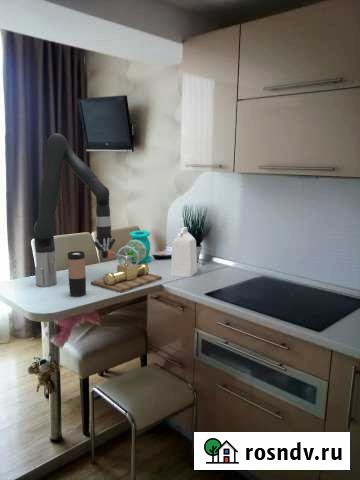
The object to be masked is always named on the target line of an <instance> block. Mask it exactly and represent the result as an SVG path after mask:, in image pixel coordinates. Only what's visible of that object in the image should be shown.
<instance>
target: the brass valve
mask: <svg viewBox="0 0 360 480" xmlns="http://www.w3.org/2000/svg"><path fill="white" fill-rule="evenodd" d="M135 264H136V263H135ZM135 264H134V263H132V264H130V263H129V261H128V259H127V260H126V259H125V260H124V263H122V264H118V265H116V269H117V272H107V273H105V274H104V275H103V277H102V279H103V282H104V284H105V285H110V286H111V285H114V284H115V283H117V282H120V281H124V280H126V281H128V280H131V279H135V278H137V276H140V275H147V274H149V266H148V264H146V263H139V264H138V265H137V266H136V265H135Z"/></svg>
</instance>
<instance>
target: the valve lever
mask: <svg viewBox="0 0 360 480" xmlns="http://www.w3.org/2000/svg"><path fill="white" fill-rule="evenodd" d="M117 257H118V258H120V259H126V260H127V259H130V256H126V255H124V254H121V253H120V254H117V253H116V252H115V251H111V250H108V257H107V258H110V259H113V258H117Z"/></svg>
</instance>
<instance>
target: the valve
mask: <svg viewBox="0 0 360 480" xmlns="http://www.w3.org/2000/svg"><path fill="white" fill-rule="evenodd" d="M150 235H151V232H150V231H148V230H134V231H131V232H130V233H129V237H130V238H131V240H129V241H128V242H127V243H126V244H125V246H122V247H120V248H119V249H118V251H117V253H116V254H120V255H121V252H122V251H123V253H124V254H125V256H130V259H128V263H130V264H133V263H134V262H136V263H135V265H136V267H138V265H139V264H146V263H150V262H151V261H152V256H150V255H149V254H150V252H151V242H150V240H149V236H150ZM116 259H117V262H118V263H119V264H118V265H120V264H123V261H125V259H123V258H118V257H116Z"/></svg>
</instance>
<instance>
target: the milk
mask: <svg viewBox="0 0 360 480" xmlns="http://www.w3.org/2000/svg"><path fill="white" fill-rule="evenodd" d="M170 259H171V263H170V264H171V265H170V275H171V276H177V277H178V276H179V277H187V278H191V277H192V276H194V275H195V274H196V273H198V261H197V240H196V238H195V237H194V236H193V235H192V234H191V233H190V232H189V231H188V227H187V226H185V227H182V228H181V229H180V232H179V233H178V234H177V235H176V237H175V238H174V240H172V242H171V258H170Z"/></svg>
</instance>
